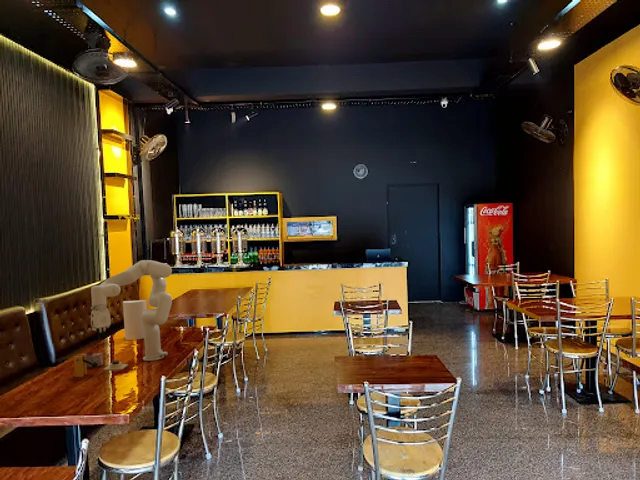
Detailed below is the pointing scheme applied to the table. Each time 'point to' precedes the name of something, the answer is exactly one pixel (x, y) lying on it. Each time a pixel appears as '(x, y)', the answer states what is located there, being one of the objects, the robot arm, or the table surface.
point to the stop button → (115, 362)
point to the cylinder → (134, 319)
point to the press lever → (90, 362)
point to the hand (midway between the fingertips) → (101, 339)
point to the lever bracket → (80, 365)
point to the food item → (94, 358)
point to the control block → (115, 366)
